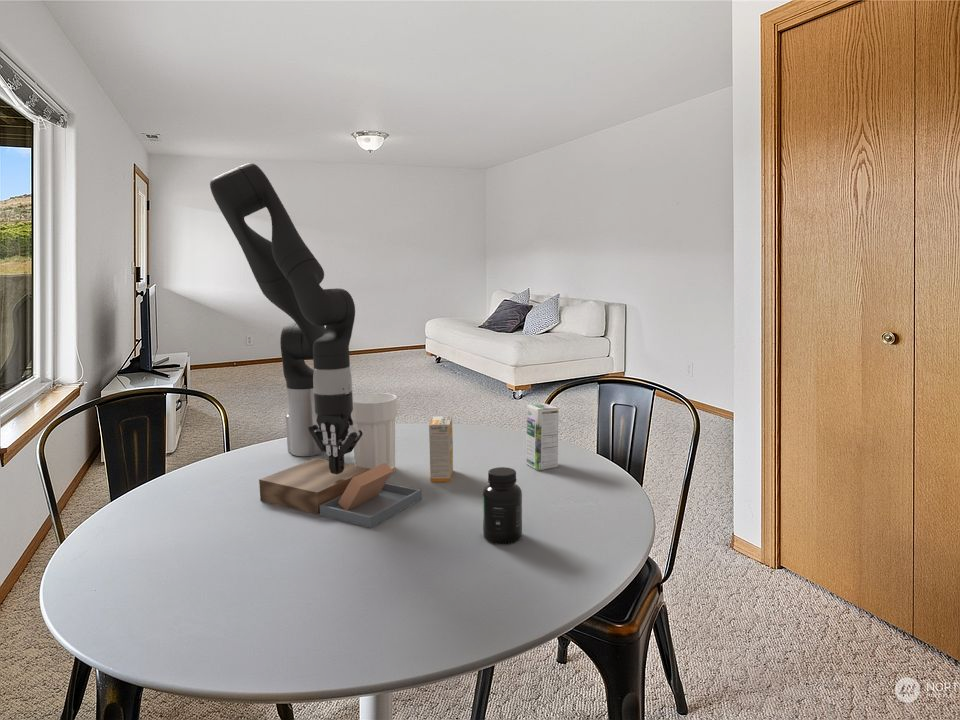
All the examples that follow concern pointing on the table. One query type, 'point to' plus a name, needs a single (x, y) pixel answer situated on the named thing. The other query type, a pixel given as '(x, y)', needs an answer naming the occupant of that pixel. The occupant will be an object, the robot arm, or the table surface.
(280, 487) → the walnut platform
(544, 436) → the syrup box
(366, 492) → the terracotta tile
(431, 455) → the supplement box
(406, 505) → the slate tray
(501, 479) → the supplement bottle
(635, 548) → the table surface
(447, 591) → the table surface
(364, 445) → the cup
